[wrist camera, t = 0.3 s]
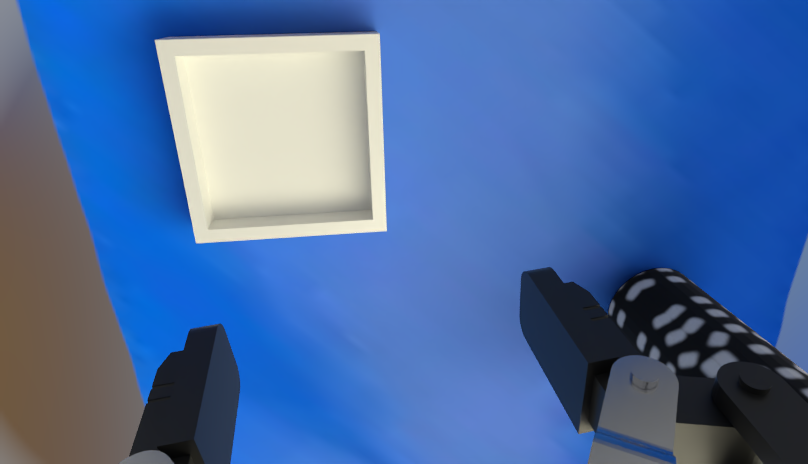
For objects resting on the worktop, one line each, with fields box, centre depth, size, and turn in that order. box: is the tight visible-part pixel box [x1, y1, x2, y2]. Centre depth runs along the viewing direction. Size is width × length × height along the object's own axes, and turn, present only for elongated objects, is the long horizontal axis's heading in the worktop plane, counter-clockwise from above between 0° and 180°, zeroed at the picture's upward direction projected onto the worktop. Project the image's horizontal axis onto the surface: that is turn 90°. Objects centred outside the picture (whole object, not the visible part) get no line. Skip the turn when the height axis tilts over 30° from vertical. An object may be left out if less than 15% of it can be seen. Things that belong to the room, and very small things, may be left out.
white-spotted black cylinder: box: [608, 268, 808, 403], centre depth 40 cm, size 8×8×20 cm
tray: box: [155, 31, 387, 243], centre depth 37 cm, size 14×14×3 cm
